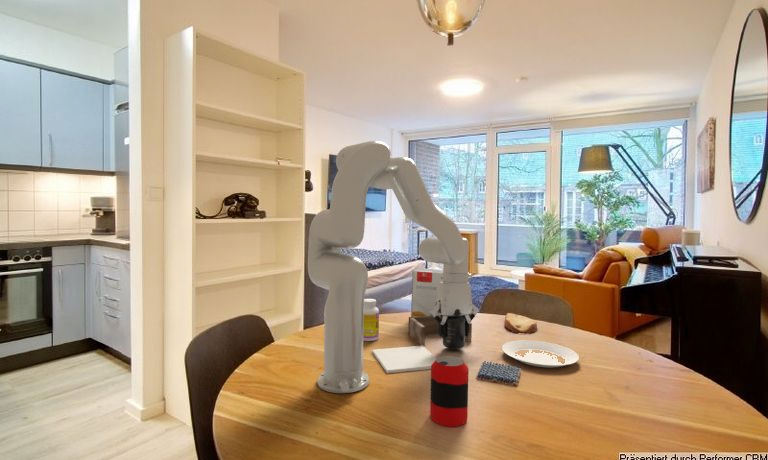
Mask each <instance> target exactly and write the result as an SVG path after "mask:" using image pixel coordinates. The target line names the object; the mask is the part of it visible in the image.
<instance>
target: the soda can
mask: <svg viewBox="0 0 768 460" xmlns="http://www.w3.org/2000/svg"><path fill="white" fill-rule="evenodd" d="M436 358H437V359H436V360H435V361H434V363H433V364H432V365H431V369H430V397H429V399H430V403H429V404H430V405H429V407H430V410H429V417H430V419H432V421H433V422H434V423H435V424H437V425H439V426H442V427H448V428H457V427H460V426H463V425H464V424H465V423H466V422H467V421H468V411H469V410H468V409H469V406H468V404H469V374H470V373H469V367H468V366H467V364H466V362H465V361H464V359H462V358H460V357H458V356H453V355H441V356H438V357H436Z"/></svg>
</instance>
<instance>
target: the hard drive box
mask: <svg viewBox="0 0 768 460" xmlns="http://www.w3.org/2000/svg"><path fill="white" fill-rule="evenodd" d="M411 271H412V276H411V302H410V303H411V309H410V317H418V316H432V315H431V314H430V310H431V309H432V308H433V307H434V306H435V305H436V304H437V296H438V289H439V285H440V282H443V269H433V268H432V269H430V268H415V269H413V270H411ZM436 314H437V315H440V314H441V313H438V312H436Z"/></svg>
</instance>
